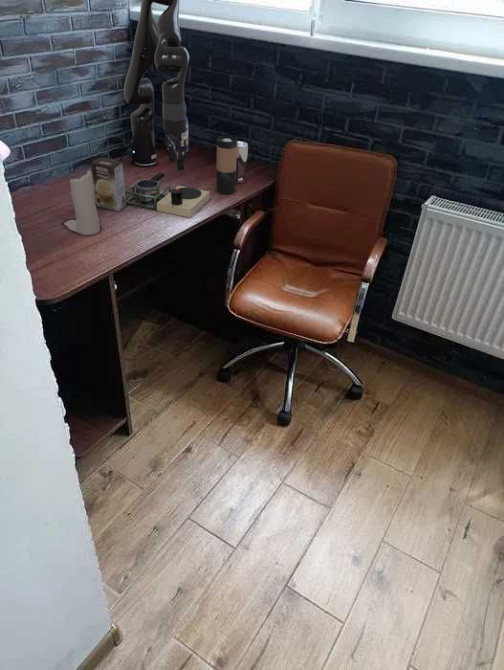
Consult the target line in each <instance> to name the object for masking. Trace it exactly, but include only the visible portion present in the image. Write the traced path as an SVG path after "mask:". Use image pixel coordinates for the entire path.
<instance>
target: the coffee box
mask: <svg viewBox="0 0 504 670" xmlns="http://www.w3.org/2000/svg"><path fill="white" fill-rule="evenodd" d="M90 167H91V172H92V176H93V184H94V197H95V205H96V207H98V208H103V209H107V210H110V211H115V212H119V211H120V210H122V209H123V208H124V207H126V206H127V204H126V199H127V195H126V196H125V190H126V186H125V176H124V175H125V174H124V165H123V161H121V160H116V159H111V158H106V157H102V156H100V157H98V158H97V159H94V160H92V162H90Z"/></svg>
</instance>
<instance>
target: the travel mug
mask: <svg viewBox="0 0 504 670" xmlns="http://www.w3.org/2000/svg"><path fill="white" fill-rule="evenodd" d="M237 141H238V139H237V138H236V137H234V136H231V135H221V136H218V137H216V169H215V171H216V191H217V193H218V194H223V195H230V194H233V193H235V189H236V183H235V178H236V157H237Z"/></svg>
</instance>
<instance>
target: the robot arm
mask: <svg viewBox="0 0 504 670" xmlns="http://www.w3.org/2000/svg"><path fill="white" fill-rule="evenodd" d="M153 3H154V4H158V5H162V6H164V7H165V6H166V8H165V10H163V11H162V13H161V14H160V15H159V17H158V18H157V22H156V19H155V16H154V12H153V8H152V6H153ZM179 18H180V0H141V4H140V11H139V17H138V22H137V26H136V31H135V35H134V41H133V47H132V54H131V58H130V63H129V67H128V70H127V73H126V77H125V80H124V85H123V96H124V99H125V102H126V103H127V104H128V105H130V106H138V105H140V106H139V107H138V108H137V109H136V110H135V111H133V112H132V113H131V114H130V126H131V137H132V139H131V140H130V146H131V147H130V148H128V149H126V151H125V152H123V153H122V154H121V156H120V157H119V159H120V160H119V161H122V160H123V158H124V156H125V155H126V156H127V158H128V159H129V158H130V159H131V160H132V161H131V162H132V164H134V165H136V166H138V167H145V168H147V167H152V166H155V165H157V153H156V138H155V137H156V136H155V122H154V121H155V119H154V117H155V90H154V86H153V83H152V81H151V80H150V79H149V78H147V77H144V75H146V73H147V72H148V71H149V70H150V69H151V67H152V66H153V65H155V68H156V69H157V70H158V71H159V72H161V73H175V74H176V73H177V75H176V76H175V77H174V78H171V79H167V80H164V81H162V84H161V94H162V95H161V97H162V108H161V110H162V111H161V112H162V127H163V128H162V129H163V131H164V139H165V148H167V151H168V153H167V154H168V162H169V163H175V162H176V169H177V170H178V171H180V172H181V171H184V170H185V160H186V159H188V157H187V152H186V141H185V140H183V139H182V136H181V135H182V134H183V133H185V132H186V116H187V107H186V108H185V104H186V98H185V95H186V94H185V87H186V79H187V73H188V71H189V66H190V59H191V57H190V53H189V51H188V50H187V48H186V47H184V46H181V45H182V37H181V29H180V19H179Z"/></svg>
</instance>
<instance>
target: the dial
mask: <svg viewBox="0 0 504 670" xmlns="http://www.w3.org/2000/svg"><path fill="white" fill-rule="evenodd" d="M171 203H172V204H173V205H181V204H182V203H183V201H182V190H180V188H178V189H175V188H173V189H172V188H171Z"/></svg>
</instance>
